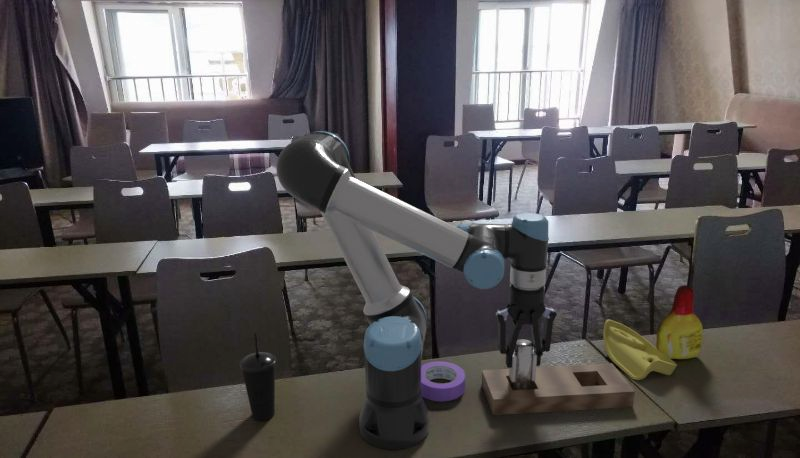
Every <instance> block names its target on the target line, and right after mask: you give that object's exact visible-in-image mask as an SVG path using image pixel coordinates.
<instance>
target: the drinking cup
mask: <svg viewBox="0 0 800 458" xmlns="http://www.w3.org/2000/svg"><path fill="white" fill-rule="evenodd" d="M253 342H254V343H253V344H254V349H255V350H254V353H250V354H247V355H246V356H244V357H242V359H241V360H240V362H239V367H240V370H241V371H242V375H243V380H244V384H245V389H246V393H247V398H248V401H249V407H250V411H251V415H252V418H253V420H255V421H256V422H265V421H268V420H270V419H272V418H274V415H275V406H276V405H275V400H276V399H275V397H276V396H275V394H276V390H275V389H276V388H275V387H276V385H275V384H276V383H275V382H276V375H275V374H276V371H275V370H276V363H277V357H276V356H275V355H274V354H272V353H271V352H265V351H264V352H263V351H259V342H258V334H257V333H254V334H253Z"/></svg>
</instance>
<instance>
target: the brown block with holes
mask: <svg viewBox="0 0 800 458" xmlns="http://www.w3.org/2000/svg"><path fill="white" fill-rule="evenodd" d="M481 387H482V389H483V392H484V395H485V397H486V400H487V403H488V405H489V408H490V411H491V414H492V415H493V416H499V415H502V416H503V415H515V414H516V415H517V414H531V413H532V414H535V413H549V412H550V413H551V412H552V413H554V412H567V411H571V412H572V411H582V410H583V411H584V410H600V409H602V410H603V409H621V408H633V407H634V402H635V394H636V390H635V389H634V388H633V387H632V386H631V384H629V382H628V381H627V379H626V378H625V377H624V376H623V374H622V373H621V372H620V371H619V370H618V369H617V368H616V366H615V365H614V363H612V362H610V363H592V364H576V365H575V364H573V365H572V364H571V365H554V366H536V378H535V381H532V380H531V387H530V390H513V382H512V381H511V379H510V377H509V368H498V369H497V368H496V369H495V368H494V369H482V370H481Z"/></svg>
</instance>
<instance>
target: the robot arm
mask: <svg viewBox="0 0 800 458" xmlns="http://www.w3.org/2000/svg"><path fill="white" fill-rule="evenodd" d="M275 168H276V169H275V170H276V176H277V179H278V181H279V183H280V185H281V187H282V188H283V189H284V190H285V191H286V192H287V193H288V194H289V195H290V196H291V197H293V198H294V199H296V200H297V201H299V202H301V203H303V204H306V205H307V206H309V207H311V208H312V209H315V210H317V211H319V212H320V214H321V215H322V218H323V220H324V221H325V223H326V224H325V225H327V228H328V230H329V231H330V233H331V235H332V238H333V239H334V242H335V243H336V245H337V247H338V249H339V251H340V253H341V256H342V257H343V259H344V262H345V263H346V265H347V267H348V269H349V271H350V274H351V275H352V277H353V279H354V281H355V283H356V285H357V286H358V287H357V288H358V289H359V291H360V292H361V294H362V295H361V296H362V297H363V299H364V300H365V304H364V307H363V314H364V316H365V317H366V320H367V322H368V323H369V326H368V327H367V328H366V331H365V334H364V340H363V354H364V368H365V369H364V370H365V371H364V374H365V392H366V393H365V394H366V395H365V398H364V402H363V405H362V408H361V411H360V414H359V419H358V421H359V422H358V423H359V424H358V427H359V428H358V429H359V433H360V435H361V437H362V438H363V440H365V442H367V443H368V444H370V445H372V446H373V447H377V448H380V449H384V450H401V449H403V450H404V449H406V448H410V447H414V446H415V445H417V444H419V443H421V442H422V441H423V440H425V438H426V437H427V435H428V434H429V431H430V414H429V412H428V409H427V406H426V404H425V401H424V399H423V398H424V397H423V396H422V395H421V366H422V359H423V358H422V357H423V351H424V345H425V344H424V343H425V338H426V333H427V329H428V318H427V312H426V310H425V307H424V306H423V304H422V303H421V302H420V300H419V299H418V298H416V297H415V296H413V294H412V292H411V290H410V288H409V287H407V286H405V285H402V284H400V282H399V280H398V278H397V276H396V274H395V272H394V270H393V268H392V266H391V263H390V262H389V259H388V257H387V255H386V253H385V251H384V249H383V246H381V243H380V241H379V240H378V237H377V235H376V233H378V234H379V235H381V236H384V237H385V238H388V239H390V240H391V241H394V242H396V243H398V244H400V245H403V246H405V247H408V248H409V249H411V250H413V251H415V252H417V253H420V254H422V255H423V256H426V257H428V258H430V259H432V260H434V261H435V262H437V263H438V262H439V263H440V264H443V265H444V266H446V267H448V268H451V269H453V270H455V271H457V272H458V273H460V274H463V275H464V277H465V279H466V281H467V282H468V283H469V284H470V285H471V286H472V287H474V288H476V289H479V290H488V289H491V288H494V287H496V286H497V285H498V284H499V283H500V282H501V281H502V280H503V277H504V275H505V265H506V264H505V263H506V261H505V260H510V271H509V283H510V284H509V296H508V304H507V305H506V308H505V309H502V310H499V309H496V310H494V311H495V312H494V313H495V317H496V318H497V348H498V350H499V352H500V354H501V355H505V365H506V367H507V369H509V377H510V379H511V381H512V382H515V377H516V358H517V357H516V355H515V353H514V352H515V346H516V343H517V340H519V339H518V338H519V334H520V331H521V330H522V327H523V326H524V325H529V329H530V334H531V340H532V341H531V342H532V343H533V355H532V371H531V380H532V381H535V378H536V367H541V366H540V365H541V360H542V356H544V353H545V352H546V353H547V352H550V350H551V345H552V335H553V327H554V321H555V319H556V317H557V312H556V310H555V309H554V308H553V307H551V306H550V307H547V306H546V305H545V295H546V292H545V291H546V287H545V284H546V274H547V260H548V249H549V240H550V239H549V220H548V218H547V217H546V216H544V215H542V214H540V213H539V214H538V213H534V212H524V213H517V214H515V215H514V216H513V217H512V221H511V223H508V224H507V223H506V224H505V223H478V222H477V223H476V222H471V223H470V222H469V223H459V224H458V225H456V226H455V225H453V224H451V223H449V222H446V221H444V220H442V219H440V218H438V217H436V216H434V215H432V214H430V213H428V212H425V211H424V210H422V209H420V208H417V207H415V206H414V205H411V204H409V203H407V202H405V201H403V200H402V199H399V198H397V197H395V196H393V195H391V194H389V193H387V192H385V191H382V190H380V189H378V188H376V187H374V186H372V185H370V184H368V183H365V182H364V181H362V180H360V179H357V178H356V176H355V173H354V172H353V169H352V167H351V165H350V153H349V150H348V146H347V145H346V143H345V142H344V140H342V139H341V138H340V137H339V136H338V135H336V134H334V133H332V132H329V131H325V130H320V131H319V130H318V131H311V132H309V133H305V134H304V135H303V136H300V137H299V138H298V139H295V140H294V141H292V142H290V143H289V144H287V145H286V146H285V147H284V148H283V149H282V150H281V151H280V154H279V155H278V157H277V162H276V167H275ZM508 315H509V316H510V318H512V319H511V326H510V329H509V330H510V331H509V334H508V338H506V337H507V332H506V331H507V326H506V325H507V324H506V321H507V319H508ZM543 315H544V318H543V328H542V334H541V335H542V336H540V332H539V321H538V320H540V318H541V317H542V316H543ZM506 339H507V340H506ZM506 341H507V342H506Z"/></svg>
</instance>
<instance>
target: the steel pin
mask: <svg viewBox="0 0 800 458" xmlns="http://www.w3.org/2000/svg"><path fill="white" fill-rule="evenodd" d="M533 350H534V347H533V341H531V340H528V339H523V338H522V339H517V343H516V346H515V350H514V353H515V355H516V357H517V358H516V377H515V382H513V390H530V387H531V371H532V355H533Z"/></svg>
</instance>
